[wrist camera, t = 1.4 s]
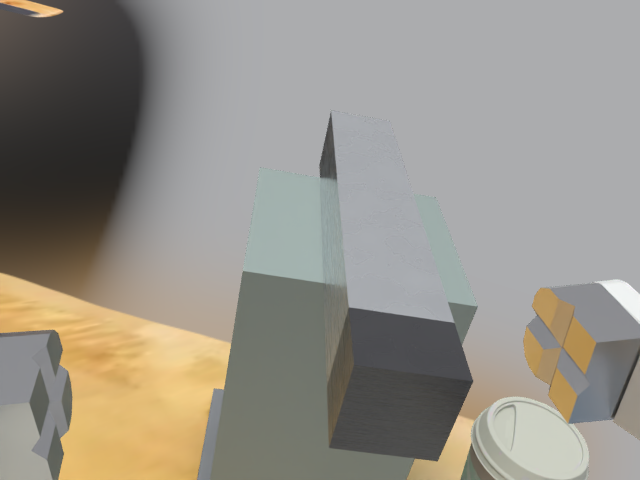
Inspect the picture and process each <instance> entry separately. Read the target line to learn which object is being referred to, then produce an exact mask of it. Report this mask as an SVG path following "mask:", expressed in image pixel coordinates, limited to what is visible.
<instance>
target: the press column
mask: <svg viewBox="0 0 640 480" xmlns="http://www.w3.org/2000/svg"><path fill="white" fill-rule="evenodd" d="M414 197H415V201H416V204H417V207H418V210H419V213H420V216H421V219H422V222H423V226H424V229H425V232H426V235H427V238H428V241H429V244H430V248H431V251H432V254H433V257H434V260H435V263H436V266H437V270H438V273H439V276H440V279H441V282H442V285H443V288H444V292H445V295H446V298H447V301H448V304H449V307H450V310H451V313H452V317H453V320H454V323H455V326H456V329H457V332H458V335H459V339H460V342H461V345H462V343H463V341H464V339H465V336H466V334H467V331H468V329H469V326H470V324H471V322H472V319H473V317H474V314H475V312H476V310H477V307H478V306H477V303H476V300H475V298H474V295H473V293H472V290H471V288H470V285H469V282H468V280H467V277H466V274H465V272H464V269H463V267H462V264H461V262H460V259H459V256H458V254H457V251H456V248H455V246H454V243H453V241H452V238H451V235H450V233H449V230H448V228H447V225H446V222H445V220H444V217H443V215H442V212H441V209H440V207H439V204H438V201H437V199H436V197H429V196H424V195H417V194H414ZM414 459H415V458H407V457H399V456H390V455H382V454H374V453H366V452H357V451H349V450H341V449H332V448H329V436H328V406H327V376H326V347H325V317H324V287H323V257H322V227H321V197H320V178H319V177H313V176H307V175H302V174H296V173H290V172H284V171H278V170H272V169H266V168H260V170H259V177H258V182H257V189H256V195H255V201H254V207H253V213H252V219H251V226H250V231H249V237H248V243H247V250H246V255H245V261H244V267H243V273H242V280H241V287H240V292H239V299H238V305H237V312H236V318H235V324H234V331H233V338H232V343H231V349H230V356H229V362H228V368H227V375H226V381H225V387H224V390H222V389H214V391H213V396H212V402H211V407H210V413H209V418H208V423H207V429H206V434H205V440H204V445H203V451H202V456H201V462H200V467H199V472H198V478H197V480H406V479H407V476H408V474H409V471H410V469H411V467H412V464H413V462H414Z"/></svg>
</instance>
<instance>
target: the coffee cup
mask: <svg viewBox="0 0 640 480" xmlns="http://www.w3.org/2000/svg"><path fill="white" fill-rule="evenodd" d="M471 440H472V443H471V446H470V450H469V453H468V456H467V460H466V463H465V466H464V470H463V473H462V476H461V480H587V479H588V473H589V469H588V468H589V467H588V464H589V450H588V447H587V444H586V442H585V440H584V438H583V436H582V435H581V433H580V432H579V431H578V429H577V428H576V427H575V426H574V425H573V424H568V423H567V422H566V420H565V419H564V418H563V416H562V415H561V413H559V412H558V411H556V410H555V409H553V408H551V407H550V406H548V405H546V404H543V403H541V402H538V401H536V400H533V399H529V398H523V397H506V398H503V399H500V400H498V401H496V402H495V403H494V404H493V405H491V406H490V407H488V408H486V409H485V410H484V411H483V412H482V413H481V414H480V415H479V416H478V417H477V419H476V420H475V422H474V423H473V426H472V430H471Z"/></svg>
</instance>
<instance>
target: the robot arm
mask: <svg viewBox="0 0 640 480" xmlns="http://www.w3.org/2000/svg"><path fill="white" fill-rule="evenodd" d="M532 307H533V309H534V311H535V312H536V314H537V316H536V317H535V318H534V319H533V320H532V321H531V322H530V323H529V324H528V325H527V327H526V331H525V336H524V341H523V342H524V351H525V357H526V360H527V362H528V365H529V367H530V369H531V370H532V372H533V373H534V375H535V376H536V377H537V378H539V379H540V380H542V381H544V382H545V383H547V384H549V385H550V388H549V394H548V396H549V397H550V399H551V400H552V401H553V403H554V404H555V406H556V407H557V409H558V410H559V412H560V413H561V415H562V416H563V418H564V419H565V420H566V422H567V423H568V424H572V423H582V422H592V421H602V420H612V419H614V421H613V422H614V423H616V424H617V425H619V426H620V427H621V428H623V429H624V430H626V431H627V432H629V433H630V434H631V435H633V436H634V437H636V438H637V439H639V440H640V295H639V294H638V293H637V292H636V291H635V290H634V289H633V288H632V287H631V286H630V285H629V284H628V283H626V282H624V281H621V280H619V279H616V280H608V281H599V282H593V283H588V284H577V285H566V286H555V287H545V288H540V289H539V291H538V292H537V293H536V295H535V297H534V301H533V304H532ZM62 351H63V349H62V345H61V342H60V338H59V335H58V333H57V332H56V331H55V330H42V331H27V332H12V333H0V480H58V477H59V473H60V468H61V464H62V459H63V455H64V453H63V449H62V445H61V441H60V438H61V437H62V436H63V435H64V434H65V433H66V432H67V431H68V430H69V426H70V420H71V415H72V390H71V382H70V378H69V373H68V371H67V370H66V369H65V368H63V367H62V366H61V365H59V363H60V359H61V355H62Z"/></svg>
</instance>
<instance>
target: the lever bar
mask: <svg viewBox="0 0 640 480" xmlns="http://www.w3.org/2000/svg"><path fill="white" fill-rule="evenodd" d="M319 166H320V197H321V227H322V257H323V287H324V317H325V347H326V376H327V406H328V436H329V448H332V449H341V450H349V451H357V452H366V453H374V454H382V455H390V456H399V457H407V458H415V459H423V460H432V461H438V459H439V457H440V455H441V452H442V450H443V448H444V446H445V443H446V441H447V439H448V437H449V434H450V432H451V430H452V428H453V425H454V423H455V421H456V419H457V416H458V414H459V412H460V410H461V407H462V405H463V403H464V401H465V398H466V396H467V394H468V392H469V389H470V387H471V385H472V383H473V380H472V376H471V373H470V370H469V367H468V364H467V361H466V358H465V354H464V351H463V348H462V345H461V342H460V339H459V335H458V332H457V329H456V326H455V323H454V320H453V317H452V313H451V310H450V307H449V304H448V301H447V298H446V295H445V292H444V288H443V285H442V282H441V279H440V276H439V273H438V270H437V266H436V263H435V260H434V257H433V254H432V251H431V248H430V244H429V241H428V238H427V235H426V232H425V229H424V226H423V222H422V219H421V216H420V213H419V210H418V207H417V204H416V201H415V197H414V194H413V191H412V188H411V185H410V182H409V179H408V175H407V172H406V169H405V166H404V163H403V160H402V157H401V153H400V151H399V147H398V144H397V141H396V138H395V135H394V132H393V128H392V125H391V122H390V121H387V120H381V119H376V118H371V117H365V116H360V115H354V114H349V113H343V112H337V111H333V110H332V111H331V113H330V118H329V123H328V128H327V132H326V137H325V142H324V146H323V151H322V156H321V160H320V165H319Z"/></svg>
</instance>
